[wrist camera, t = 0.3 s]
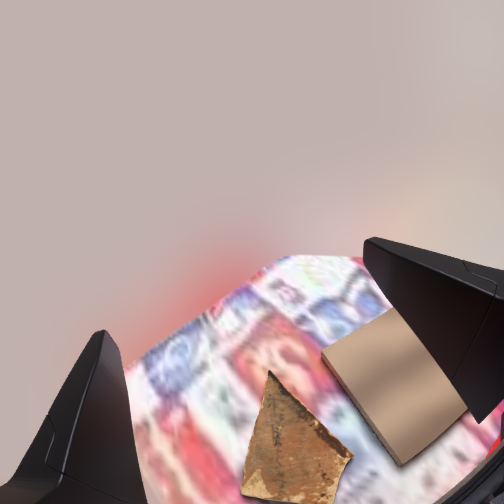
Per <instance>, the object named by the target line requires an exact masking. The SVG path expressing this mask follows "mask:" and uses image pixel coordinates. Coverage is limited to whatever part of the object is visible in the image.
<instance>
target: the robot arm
mask: <svg viewBox="0 0 504 504" xmlns="http://www.w3.org/2000/svg"><path fill="white" fill-rule="evenodd" d="M363 263H364V265H365V267H366V268H367V270H368V271H369V273H370V274H371V276H372V277H373V279H374V280H375V282H376V283H377V285H378V286H379V288H380V289H381V291H382V292H383V294H384V295H385V297H386V298H387V299H388V301H389V302H390V303H391V304H392V306H393V307H394V308H395V309H396V311H397V312H398V313H399V314H400V316H401V317H402V318H403V319H404V321H405V322H406V323H407V324H408V326H409V327H410V328H411V330H412V331H413V332H414V333H415V335H416V336H417V337H418V339H419V340H420V341H421V343H422V344H423V345H424V347H425V348H426V349H427V351H428V352H429V353H430V355H431V356H432V357H433V359H434V360H435V361H436V363H437V364H438V366H439V367H440V368H441V370H442V371H443V373H444V374H445V375H446V377H447V378H448V380H449V381H450V383H451V384H452V386H453V387H454V388H455V390H456V391H457V393H458V394H459V396H460V397H461V399H462V400H463V402H464V403H465V405H466V406H467V408H468V409H469V411H470V412H471V414H472V415H473V417H474V419H475V420H476V421H477V423H478V424H480V423H481V422H482V421H483V420H484V419H485V418H486V417H487V416H488V415H489V414H490V413H491V412H492V411H493V410H494V409H495V408H496V407H497V405H498V404H499V403H500V402H501V401H502V400H503V399H504V270H500V269H495V268H491V267H487V266H483V265H479V264H475V263H472V262H468V261H465V260H460V259H458V258H454V257H451V256H447V255H443V254H440V253H436V252H432V251H429V250H425V249H421V248H417V247H413V246H410V245H406V244H402V243H398V242H394V241H390V240H386V239H382V238H378V237H372V238H369V239H366V240H365V241H364V247H363ZM0 504H148V503H147V499H146V495H145V491H144V486H143V482H142V477H141V473H140V468H139V463H138V457H137V452H136V446H135V440H134V434H133V428H132V421H131V413H130V405H129V397H128V391H127V386H126V381H125V376H124V371H123V366H122V361H121V356H120V351H119V348H118V346H117V345H116V343H115V342H114V340H113V339H112V337H111V336H110V334H109V333H108V332H107V331H106V330H101V331H97V332H95V333H94V334H93V335H92V337H91V338H90V340H89V342H88V343H87V345H86V346H85V348H84V350H83V351H82V353H81V355H80V356H79V358H78V360H77V362H76V363H75V365H74V367H73V368H72V370H71V372H70V374H69V375H68V377H67V379H66V381H65V382H64V384H63V386H62V388H61V389H60V391H59V393H58V395H57V397H56V398H55V400H54V402H53V404H52V406H51V408H50V410H49V412H48V415H46V417H45V419H44V421H43V423H42V425H41V427H40V429H39V431H38V433H37V435H36V436H35V438H34V440H33V442H32V444H31V445H30V447H29V449H28V451H27V452H26V454H25V456H24V457H23V459H22V461H21V463H20V465H19V466H18V468H17V470H16V472H15V473H14V475H13V477H12V478H11V479H10V480H9V481H8V482H7V483H6V484H4V485H2V486H0ZM433 504H504V412H503V413H502V418H501V437H500V444H499V445H498V446H497V447H496V448H495V449H494V450H493V451H492V452H491V453H490V454H489V455H488V456H487V457H486V458H485V459H484V460H483V461H482V462H481V463H480V464H479V465H478V466H477V467H476V468H475V469H474V470H473V471H472V472H471V473H470V474H469V475H467V476H466V477H465V478H464V479H463V480H462V481H461V482H460V483H458V484H457V485H456V486H455V487H454V488H452V489H451V490H450V491H449V492H448V493H446V494H445V495H444V496H443V497H441V498H440V499H439V500H437V501H436V502H435V503H433Z"/></svg>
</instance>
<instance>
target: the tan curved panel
mask: <svg viewBox="0 0 504 504" xmlns="http://www.w3.org/2000/svg"><path fill="white" fill-rule="evenodd" d="M321 358H322V359H323V360H324V362H325V363H326V365H327V366H328V367H329V369H330V370H331V372H332V373H333V375H334V376H335V377H336V379H337V380H338V382H339V383H340V384H341V386H342V387H343V389H344V390H345V391H346V393H347V394H348V396H349V397H350V398H351V400H352V401H353V403H354V404H355V406H356V407H357V408H358V410H359V411H360V413H361V414H362V415H363V417H364V418H365V420H366V421H367V422H368V424H369V425H370V427H371V428H372V429H373V431H374V432H375V434H376V435H377V436H378V438H379V439H380V441H381V442H382V443H383V445H384V446H385V448H386V449H387V450H388V452H389V453H390V455H391V456H392V457H393V459H394V460H395V462H396V463H397V464H398V466H401V465H403V464H404V463H406V462H407V461H408V460H410V459H411V458H412V457H414V456H415V455H416V454H418V453H419V452H420V451H421V450H423V449H424V448H425V447H426V446H427V445H429V444H430V443H431V442H432V441H433V440H435V439H436V438H437V437H438V436H439V435H440V434H441V433H443V432H444V431H445V430H446V429H447V428H448V427H449V426H450V425H451V424H452V423H453V422H454V421H456V420H457V419H458V418H459V417H460V416H461V415H462V414H463V413H464V412H465V411H466V410H467V409H468V408H467V406H466V405H465V403H464V402H463V400H462V399H461V397H460V396H459V394H458V393H457V391H456V390H455V388H454V387H453V386H452V384H451V383H450V381H449V380H448V378H447V377H446V375H445V374H444V373H443V371H442V370H441V368H440V367H439V366H438V364H437V363H436V361H435V360H434V359H433V357H432V356H431V355H430V353H429V352H428V351H427V349H426V348H425V347H424V345H423V344H422V343H421V341H420V340H419V339H418V337H417V336H416V335H415V333H414V332H413V331H412V330H411V328H410V327H409V326H408V324H407V323H406V322H405V321H404V319H403V318H402V317H401V316H400V314H399V313H398V312H397V311H396V309H395V308H394V307H393V308H391V309H390V310H388V311H387V312H385V313H384V314H382V315H380V316H379V317H377V318H376V319H374V320H372V321H371V322H369V323H368V324H366V325H364V326H363V327H361V328H359V329H358V330H356V331H354V332H352V333H351V334H349V335H347V336H346V337H344V338H342V339H340V340H339V341H337V342H335V343H333V344H331V345H330V346H328V347H326V348H324V349H322V350H321Z"/></svg>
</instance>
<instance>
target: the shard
mask: <svg viewBox="0 0 504 504" xmlns="http://www.w3.org/2000/svg"><path fill="white" fill-rule="evenodd" d="M248 449H249V451H248V454H247V456H246V462H245V466H244V474H245V475H244V479H243V481H242V484H241V494H242V495H246V496H250V497H258V498H261V499H265V500H273V501H280V502H290V503H298V504H333V502H334V498H335V494H336V493H335V492H336V490H337V486H338V482H339V479H340V475H341V473H342V472H343V469H344V467H345V466H346V463H347V462H348V461H349V460H350V459H351V458H352V457H354V454H353V453H352V452H351V451H349V450H348V449H347V448H346V447H345V446H343V445H342V443H341V442H340V441H339V440H338V439H337V438H336V437H335V436H334V435H333V434H331V433H330V432H329V430H328V429H327V428H326V427H325V426H324V425H323V424H322V423H321V422H320V421H319V420H318V419H317V418H316V417H315V415H314V414H313V413H312V412H311V411H310V410H308V409H307V407H306V406H305V405H303V404H302V403H301V401H299V399H298V398H296V397H295V396H294V395H293V394H292V393H291V392H289V391H288V390H287V389H286V388H285V387H284V386H283V385H282V384H281V383H280V381H279V379H278V377H277V376H275V375H274V374H273V373H272V372H271V371H270V370H268V375H267V381H266V384H265V388H264V396H263V401H262V405H261V408H260V412H259V415H258V417H257V420H256V422H255V426H254V431H253V435H252V438H251V440H250V444H249V447H248Z"/></svg>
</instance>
